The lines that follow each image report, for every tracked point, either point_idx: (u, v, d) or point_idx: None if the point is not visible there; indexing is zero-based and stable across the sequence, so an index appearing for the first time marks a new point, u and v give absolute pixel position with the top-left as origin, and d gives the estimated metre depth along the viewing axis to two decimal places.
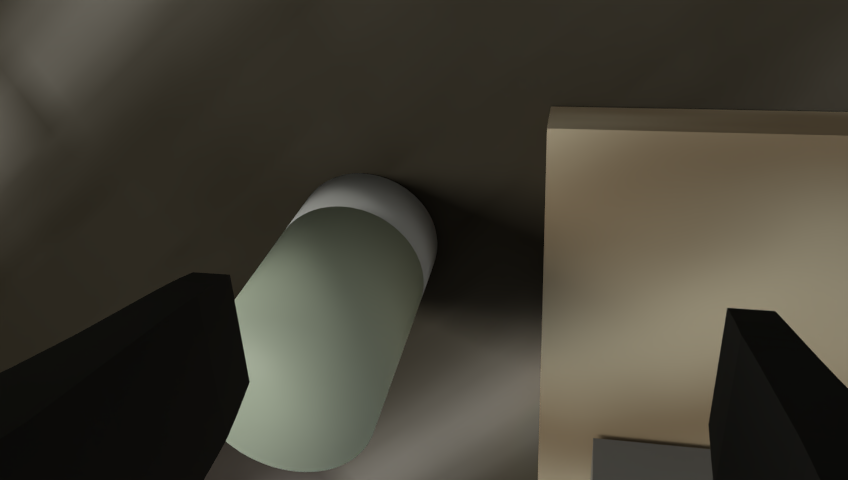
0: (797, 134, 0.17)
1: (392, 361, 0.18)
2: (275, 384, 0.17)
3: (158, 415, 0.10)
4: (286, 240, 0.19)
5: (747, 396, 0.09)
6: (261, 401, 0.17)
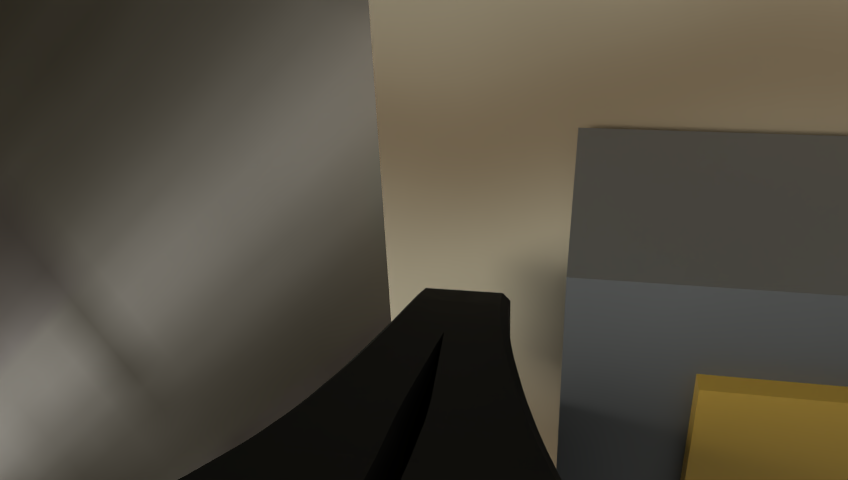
0: None
1: None
2: None
3: None
4: None
5: None
6: None
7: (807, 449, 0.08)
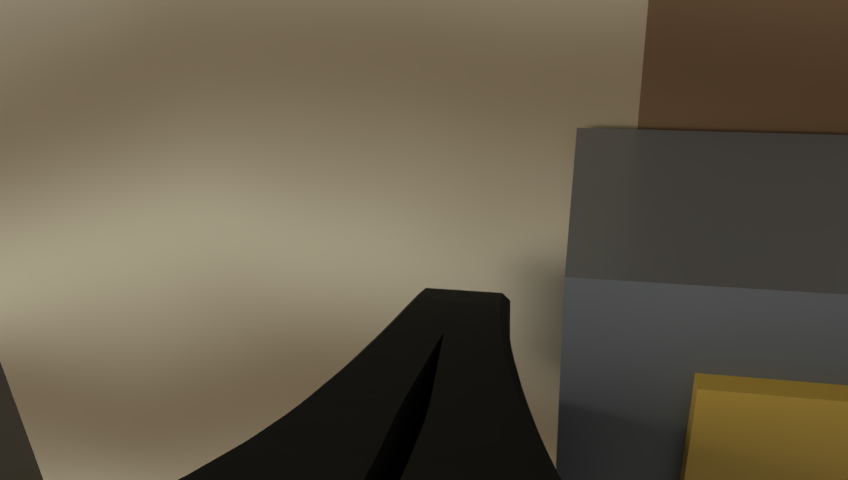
0: None
1: None
2: None
3: None
4: None
5: None
6: None
7: (806, 448, 0.08)
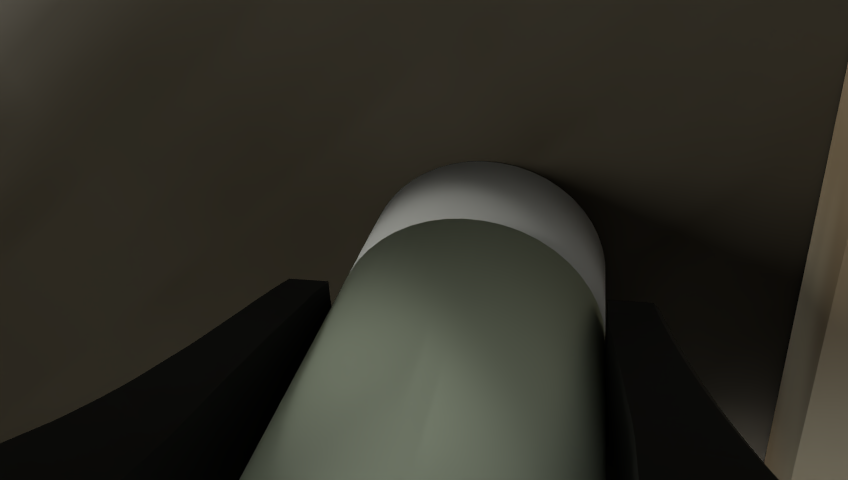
0: None
1: None
2: None
3: None
4: (372, 283, 0.10)
5: (611, 384, 0.10)
6: None
7: None
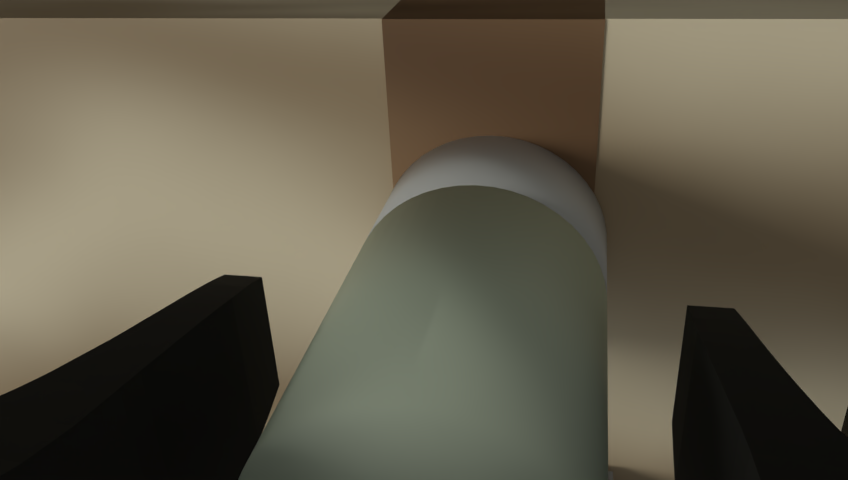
0: (30, 18, 0.14)
1: None
2: None
3: (194, 418, 0.10)
4: (390, 242, 0.11)
5: (701, 392, 0.09)
6: None
7: None
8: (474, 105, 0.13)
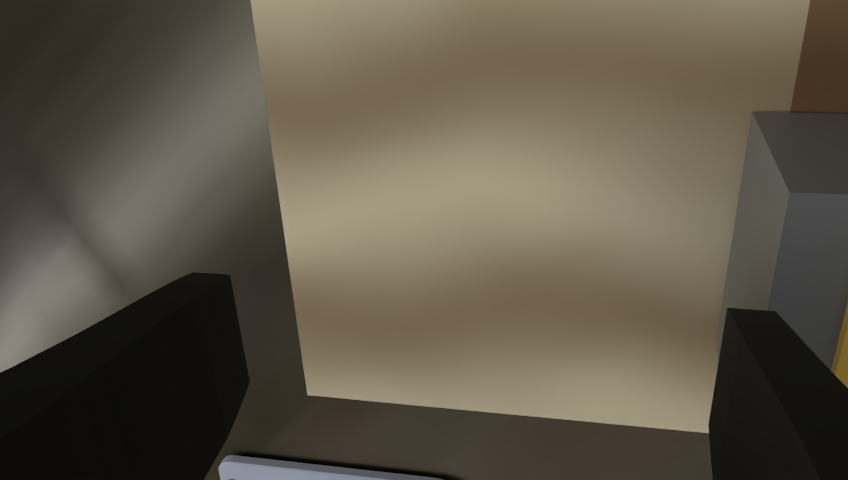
0: None
1: None
2: None
3: (158, 414, 0.10)
4: None
5: (747, 396, 0.09)
6: None
7: None
8: None
